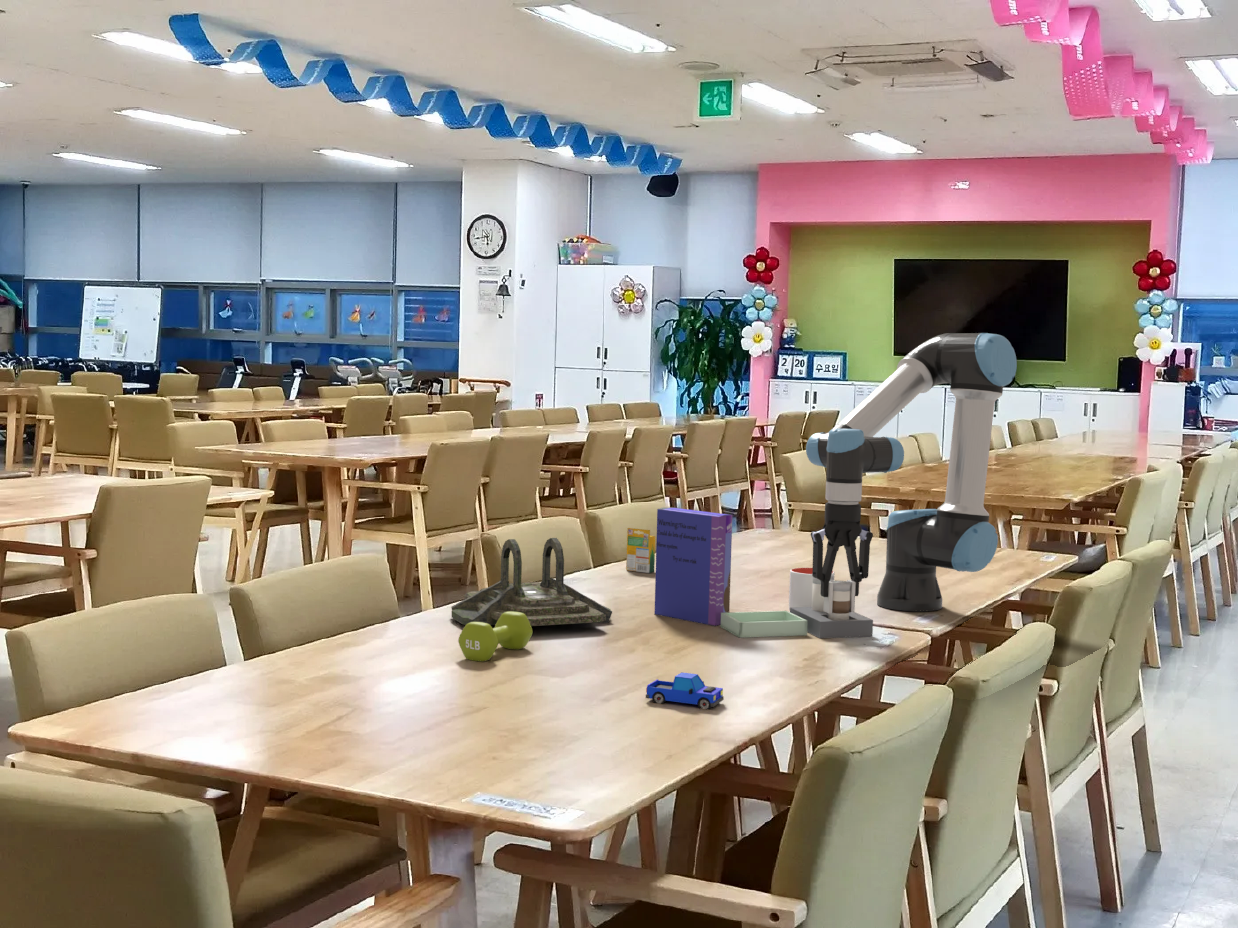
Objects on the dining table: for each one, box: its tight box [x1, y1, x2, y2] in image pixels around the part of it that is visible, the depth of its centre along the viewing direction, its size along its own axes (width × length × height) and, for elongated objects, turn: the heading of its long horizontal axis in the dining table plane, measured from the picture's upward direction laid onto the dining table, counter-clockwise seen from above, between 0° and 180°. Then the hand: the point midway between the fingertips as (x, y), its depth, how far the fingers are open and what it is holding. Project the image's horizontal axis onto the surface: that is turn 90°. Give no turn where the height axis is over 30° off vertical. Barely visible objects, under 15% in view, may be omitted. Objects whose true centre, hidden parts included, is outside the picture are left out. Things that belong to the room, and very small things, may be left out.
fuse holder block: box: [789, 575, 874, 639], centre depth 296 cm, size 12×16×11 cm
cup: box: [788, 567, 835, 611], centre depth 313 cm, size 10×10×10 cm
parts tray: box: [720, 610, 808, 638], centre depth 293 cm, size 15×11×3 cm
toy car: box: [645, 672, 725, 711], centre depth 231 cm, size 7×12×5 cm, turn 68°
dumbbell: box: [457, 611, 533, 663], centre depth 265 cm, size 16×8×7 cm, turn 152°
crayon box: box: [625, 527, 656, 574], centre depth 368 cm, size 7×3×12 cm, turn 58°
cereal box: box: [654, 506, 733, 627], centre depth 303 cm, size 17×5×24 cm, turn 47°
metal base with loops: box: [451, 537, 613, 627], centre depth 298 cm, size 35×34×18 cm
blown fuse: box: [828, 579, 851, 620], centre depth 292 cm, size 4×4×11 cm
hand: (838, 611), depth 292 cm, fingers closed on blown fuse, 4 cm apart
